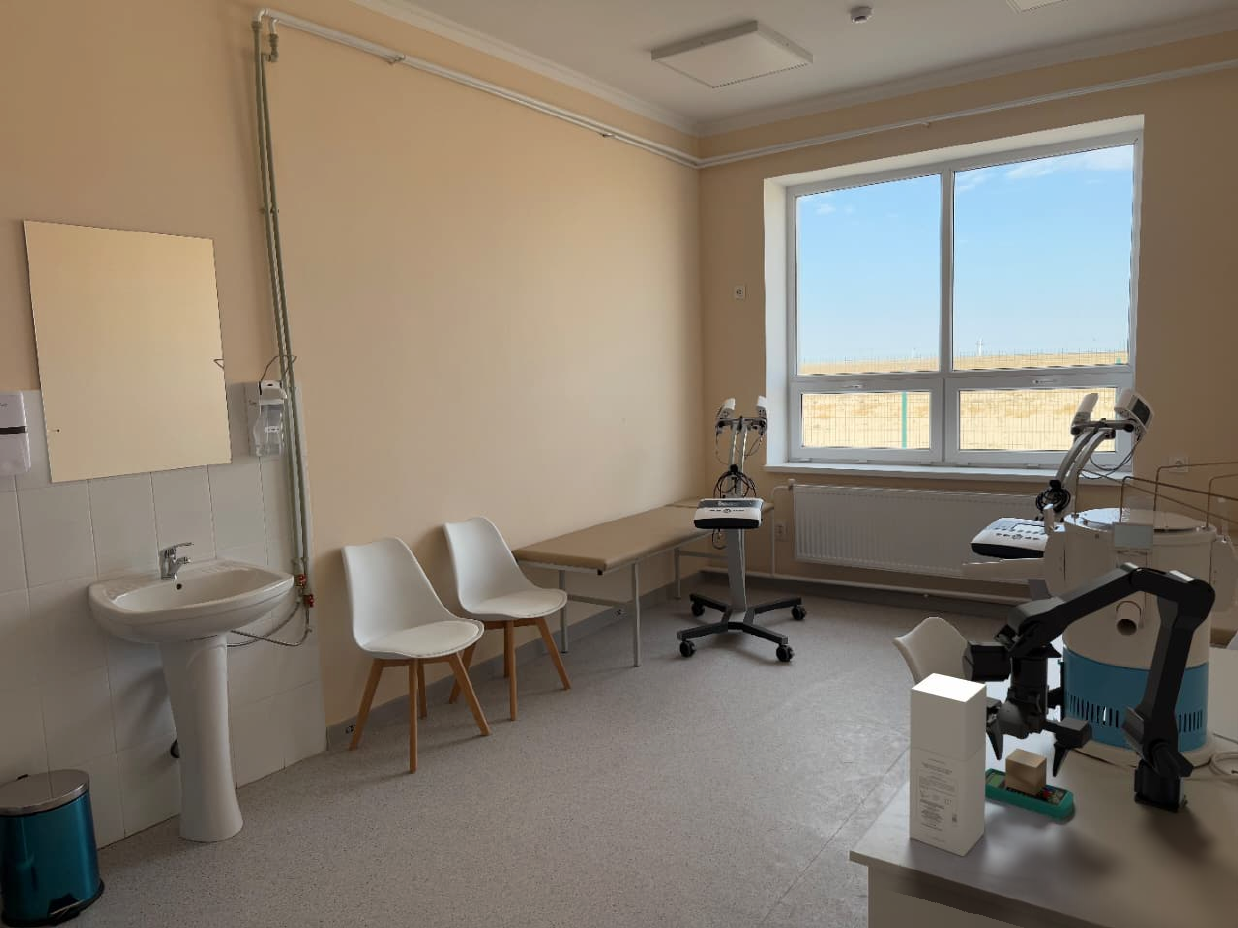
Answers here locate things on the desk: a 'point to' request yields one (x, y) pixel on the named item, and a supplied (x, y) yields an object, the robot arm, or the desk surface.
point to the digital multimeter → (1029, 796)
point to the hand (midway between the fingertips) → (1026, 767)
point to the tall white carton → (947, 762)
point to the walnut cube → (1025, 771)
